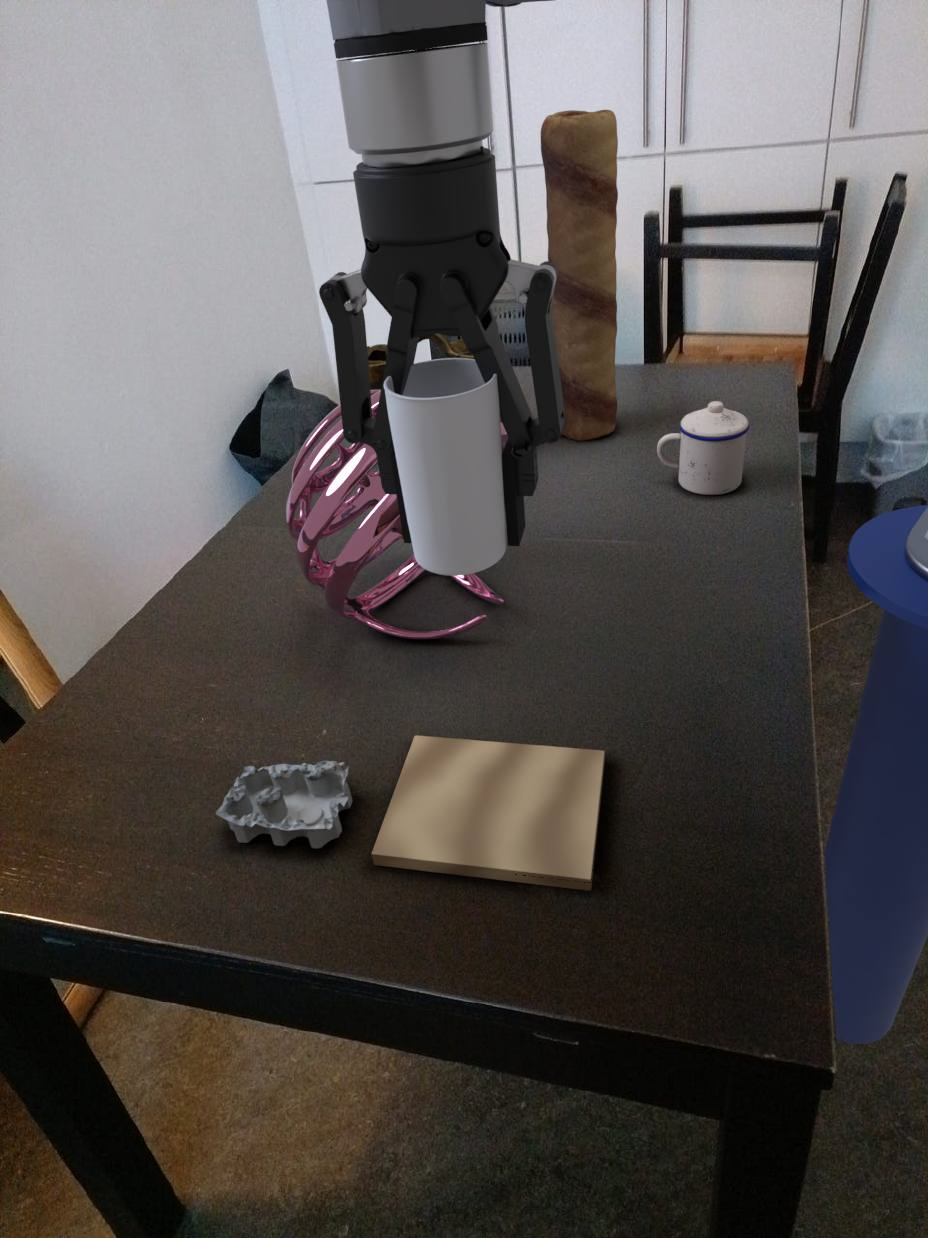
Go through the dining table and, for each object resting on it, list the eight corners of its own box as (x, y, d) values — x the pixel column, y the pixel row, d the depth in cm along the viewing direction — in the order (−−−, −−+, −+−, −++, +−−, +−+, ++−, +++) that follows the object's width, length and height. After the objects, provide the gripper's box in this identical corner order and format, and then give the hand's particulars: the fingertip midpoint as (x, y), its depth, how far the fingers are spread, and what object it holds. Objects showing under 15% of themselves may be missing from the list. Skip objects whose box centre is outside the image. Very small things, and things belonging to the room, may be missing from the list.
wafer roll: (551, 418, 140) (538, 112, 114) (613, 413, 140) (615, 103, 113) (553, 444, 132) (541, 119, 106) (620, 438, 131) (624, 109, 105)
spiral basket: (628, 458, 81) (433, 281, 84) (432, 642, 71) (219, 434, 74) (552, 569, 107) (405, 430, 110) (400, 715, 97) (244, 558, 100)
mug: (497, 582, 52) (481, 399, 45) (397, 576, 54) (366, 398, 47) (528, 506, 59) (519, 339, 52) (440, 502, 61) (419, 341, 54)
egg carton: (361, 791, 75) (353, 760, 73) (333, 858, 70) (323, 826, 67) (255, 779, 78) (245, 748, 76) (219, 842, 72) (206, 811, 70)
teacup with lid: (740, 467, 119) (748, 389, 112) (745, 497, 112) (754, 415, 105) (655, 467, 122) (658, 391, 115) (655, 497, 115) (658, 417, 108)
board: (604, 762, 75) (604, 750, 74) (591, 891, 64) (591, 879, 63) (416, 746, 79) (414, 735, 79) (373, 865, 68) (370, 854, 68)
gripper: (616, 126, 43) (612, 510, 57) (278, 155, 48) (349, 505, 61) (605, 145, 38) (604, 569, 51) (221, 177, 42) (313, 559, 56)
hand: (464, 533), depth 56 cm, fingers closed on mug, 6 cm apart
